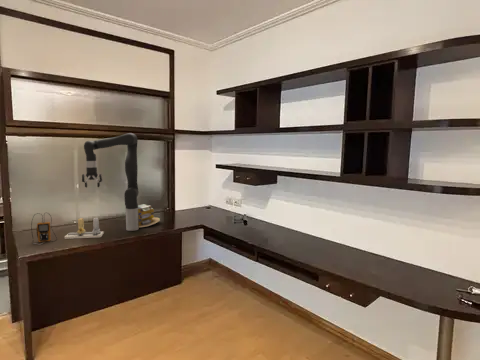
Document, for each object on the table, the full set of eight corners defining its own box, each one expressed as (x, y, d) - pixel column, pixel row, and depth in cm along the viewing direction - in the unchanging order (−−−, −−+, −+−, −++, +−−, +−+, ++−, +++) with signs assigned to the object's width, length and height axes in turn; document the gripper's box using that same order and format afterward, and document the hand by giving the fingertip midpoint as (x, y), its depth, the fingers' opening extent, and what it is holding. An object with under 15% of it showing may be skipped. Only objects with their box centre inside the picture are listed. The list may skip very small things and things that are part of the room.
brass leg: (85, 232, 239) (84, 218, 238) (83, 235, 234) (82, 220, 232) (79, 232, 239) (78, 218, 237) (76, 235, 233) (76, 220, 231)
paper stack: (131, 229, 257) (130, 208, 255) (127, 222, 279) (127, 203, 277) (162, 226, 267) (162, 206, 265) (156, 219, 289) (156, 201, 287)
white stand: (103, 233, 245) (102, 216, 243) (100, 237, 235) (100, 219, 234) (68, 234, 240) (68, 217, 238) (64, 238, 230) (63, 221, 229)
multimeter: (29, 246, 214) (27, 216, 211) (32, 241, 223) (31, 213, 221) (55, 243, 219) (53, 214, 217) (57, 239, 228) (55, 211, 226)
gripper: (80, 167, 247) (81, 188, 249) (100, 167, 250) (101, 187, 252) (82, 166, 255) (83, 186, 257) (102, 166, 258) (103, 186, 260)
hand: (92, 187), depth 254 cm, fingers open, 8 cm apart
